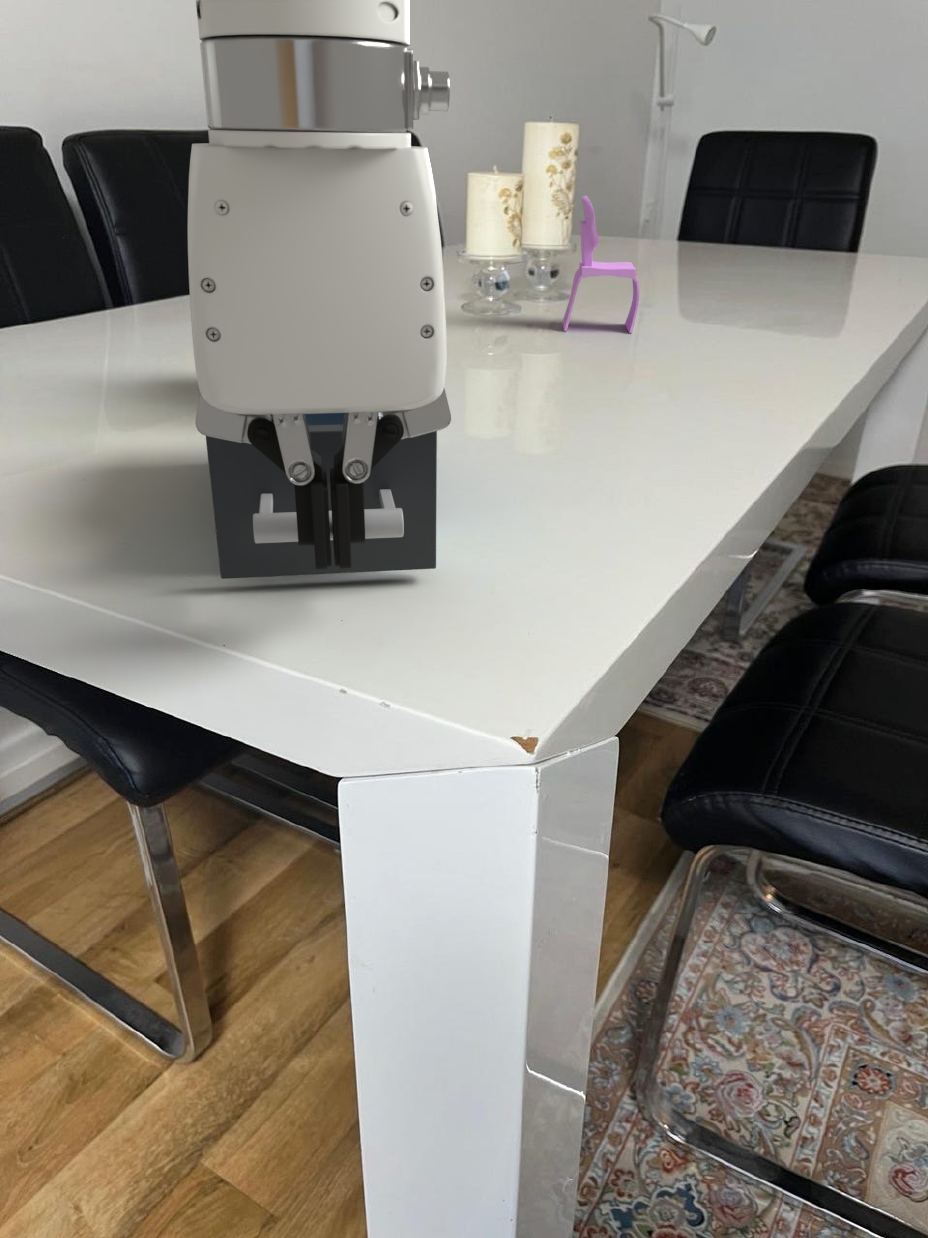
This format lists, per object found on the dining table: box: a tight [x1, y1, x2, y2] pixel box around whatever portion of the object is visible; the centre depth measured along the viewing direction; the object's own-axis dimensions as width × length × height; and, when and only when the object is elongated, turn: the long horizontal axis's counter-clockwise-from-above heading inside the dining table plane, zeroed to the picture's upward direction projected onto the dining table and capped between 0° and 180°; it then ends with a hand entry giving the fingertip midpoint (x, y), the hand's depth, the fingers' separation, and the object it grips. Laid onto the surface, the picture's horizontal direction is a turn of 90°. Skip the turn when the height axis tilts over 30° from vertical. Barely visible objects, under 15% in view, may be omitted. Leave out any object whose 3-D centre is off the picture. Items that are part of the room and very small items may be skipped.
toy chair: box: [562, 195, 640, 334], centre depth 116 cm, size 8×9×15 cm
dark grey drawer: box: [205, 413, 438, 580], centre depth 53 cm, size 18×11×8 cm, turn 9°
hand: (332, 556), depth 44 cm, fingers closed
